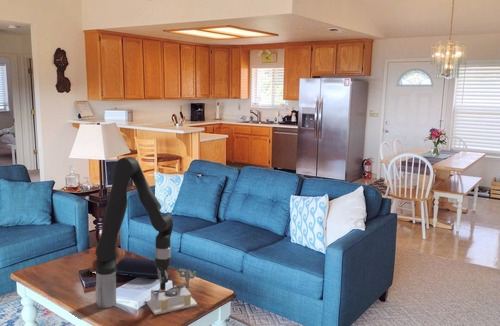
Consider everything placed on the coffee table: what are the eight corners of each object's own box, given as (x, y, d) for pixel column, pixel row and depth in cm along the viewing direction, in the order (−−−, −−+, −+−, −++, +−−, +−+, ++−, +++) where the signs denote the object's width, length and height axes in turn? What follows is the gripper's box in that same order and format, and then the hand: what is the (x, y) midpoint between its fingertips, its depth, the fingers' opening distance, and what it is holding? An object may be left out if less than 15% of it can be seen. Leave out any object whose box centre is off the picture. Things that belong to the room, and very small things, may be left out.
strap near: (161, 293, 217) (160, 289, 217) (154, 292, 227) (153, 289, 227) (165, 292, 218) (165, 289, 218) (158, 291, 228) (158, 288, 228)
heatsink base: (154, 314, 215) (154, 302, 214) (145, 301, 228) (145, 289, 226) (197, 305, 226) (197, 293, 225) (185, 292, 239) (186, 281, 237)
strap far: (184, 285, 223) (183, 282, 224) (176, 288, 233) (176, 285, 233) (188, 284, 224) (187, 281, 225) (180, 287, 234) (180, 284, 234)
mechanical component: (195, 290, 242) (195, 272, 241) (177, 287, 244) (177, 270, 243) (196, 287, 245) (197, 270, 243) (179, 285, 247) (179, 268, 245)
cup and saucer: (87, 269, 262) (87, 259, 261) (109, 266, 267) (109, 256, 266) (89, 277, 252) (89, 267, 251) (111, 274, 257) (111, 264, 256)
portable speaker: (164, 274, 260) (164, 258, 258) (158, 281, 250) (159, 265, 249) (122, 270, 262) (122, 254, 260) (115, 278, 252) (115, 261, 251)
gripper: (150, 252, 219) (151, 285, 222) (160, 261, 208) (159, 296, 211) (165, 249, 223) (165, 282, 226) (175, 259, 212) (174, 293, 215)
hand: (162, 289), depth 219 cm, fingers closed
